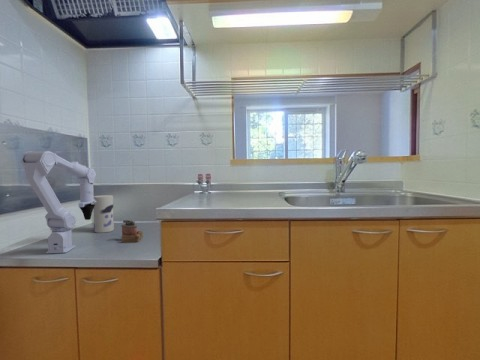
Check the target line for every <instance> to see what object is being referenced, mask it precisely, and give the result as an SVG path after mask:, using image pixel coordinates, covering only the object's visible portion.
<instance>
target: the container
mask: <svg viewBox="0 0 480 360" xmlns="http://www.w3.org/2000/svg"><path fill="white" fill-rule="evenodd" d="M94 199H95V201H96V202H95V203H93V204H95V207H94V208H93V232H94V233H97V234H98V233H99V234H100V233H101V234H102V233H110V232H112V231H114V230H115V226H114V225H115V224H114V223H115V221H114V195H111V194H109V195H94Z"/></svg>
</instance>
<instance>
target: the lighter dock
mask: <svg viewBox="0 0 480 360" xmlns="http://www.w3.org/2000/svg"><path fill="white" fill-rule="evenodd" d="M143 237H144V231H143V230H140V231H139V230H137V235H133V236H122V235H121V243H124V244H126V243H127V244H128V243H129V244H130V243H139V242H140V241H141V240H142V239H143Z"/></svg>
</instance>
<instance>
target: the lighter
mask: <svg viewBox="0 0 480 360" xmlns="http://www.w3.org/2000/svg"><path fill="white" fill-rule="evenodd" d="M122 223H123V224H121V237H122V236H133V235H137V231H138V225H137V224H135V223H136V222H135V220H132V219H129V220H128V219H124V220H122Z"/></svg>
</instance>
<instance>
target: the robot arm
mask: <svg viewBox="0 0 480 360" xmlns="http://www.w3.org/2000/svg"><path fill="white" fill-rule="evenodd" d="M20 163H21V164H22V166H23V167H24V170H25V171H24V173H25V178H26V179H27V182H28V183H29V184H30V186H31V189H32V190H33V191H34V193H35V194H36V196H37V198H38V199H39V201H40V202H41V204H42V205H43V207H44V209H45V211H46V212H47V213H46V214H45V216H44V218H45V220H46V225H47V226H48V228H49V229H50V231H51V233H50V234H49V236H48V238H47V251H46V252H45V255H46V254H64V253H68V252H70V251H71V250H73V249H74V248H76V247H77V245H76V244H75V245H74V244H73V229H74V227H75V225H76V223H77V219H76V215H74V214H72V213H71V211H70V210H69V209H66V208H65V207H63V206H62V204H61V202H60V200H59V199H58V197H57V195H56V193H55V191H54V190H53V188H52V186H51V184H50V182H49V181H48V179H47V178H46V176H47V175H48V174H49V173H50V171H52V168H53V167H54V166H56V167H60V168H62V169H65V171H66V173H68V174H70V175H73V176H75V177H76V178H77V179H78V180H79V195H80V198H79V199H80V201H79V202H78V208H79V209H80V210H81V212H82V214H83V218H84V220H86V221H89V220H91V218H92V214H93V212H94V207H95V204H94V203H95V202H96V201H95V199H94V196H95V195H94V191H95V190H94V183H95V178H96V177H97V173H96V171H95V169H93V168H92V167H87V165H85V164H84V165H83V164H80V163H79V161H76V160H75V161H68V159H67V160H66V159H64V158H63V157H61V156H59V155H57V153H56V152H52V151H51V150H45V151H30V150H28V151H25V153H24V154H23V155H22V157H21V160H20Z"/></svg>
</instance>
